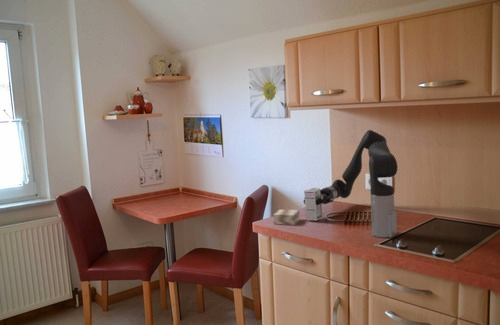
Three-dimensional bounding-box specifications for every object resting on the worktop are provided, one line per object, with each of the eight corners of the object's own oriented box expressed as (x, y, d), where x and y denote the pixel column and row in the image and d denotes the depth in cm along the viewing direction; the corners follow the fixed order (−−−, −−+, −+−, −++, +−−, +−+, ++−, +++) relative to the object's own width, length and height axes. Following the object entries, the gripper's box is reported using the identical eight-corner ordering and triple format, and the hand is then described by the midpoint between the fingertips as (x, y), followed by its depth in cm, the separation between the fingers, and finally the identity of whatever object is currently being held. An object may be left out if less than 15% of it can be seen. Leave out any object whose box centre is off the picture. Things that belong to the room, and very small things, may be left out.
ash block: (299, 219, 218) (299, 210, 217) (294, 225, 208) (293, 215, 208) (280, 219, 221) (279, 209, 221) (273, 224, 212) (273, 214, 211)
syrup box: (316, 220, 209) (314, 190, 208) (305, 219, 213) (303, 189, 211) (322, 217, 214) (320, 188, 212) (311, 216, 217) (309, 187, 216)
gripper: (313, 187, 227) (296, 193, 214) (339, 188, 219) (323, 195, 205) (314, 201, 228) (297, 209, 215) (340, 203, 220) (324, 211, 206)
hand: (310, 202), depth 210 cm, fingers closed on syrup box, 6 cm apart
